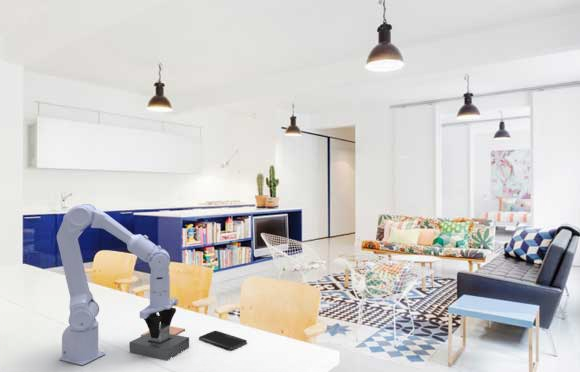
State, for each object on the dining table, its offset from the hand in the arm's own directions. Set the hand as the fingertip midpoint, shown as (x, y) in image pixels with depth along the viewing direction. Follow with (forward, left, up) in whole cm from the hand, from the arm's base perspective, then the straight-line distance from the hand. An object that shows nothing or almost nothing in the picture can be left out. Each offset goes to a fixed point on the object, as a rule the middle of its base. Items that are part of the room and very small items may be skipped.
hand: (159, 335), depth 120 cm
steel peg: (0, 0, -4) cm, 4 cm away
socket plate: (0, 0, -4) cm, 4 cm away
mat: (-8, +11, -4) cm, 14 cm away
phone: (+14, +13, -5) cm, 20 cm away
